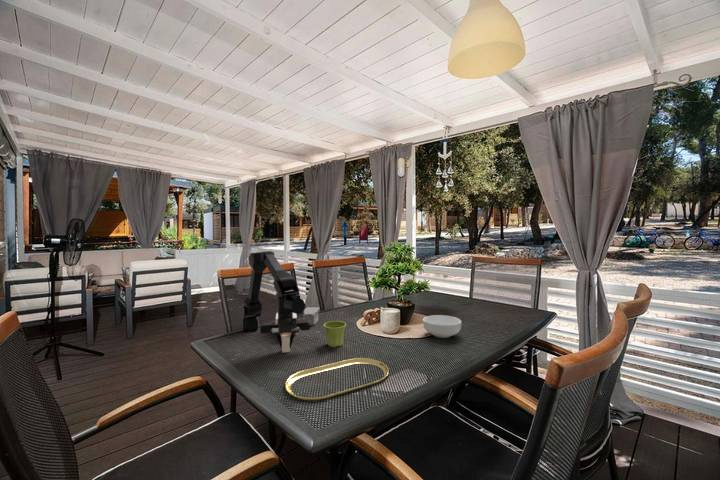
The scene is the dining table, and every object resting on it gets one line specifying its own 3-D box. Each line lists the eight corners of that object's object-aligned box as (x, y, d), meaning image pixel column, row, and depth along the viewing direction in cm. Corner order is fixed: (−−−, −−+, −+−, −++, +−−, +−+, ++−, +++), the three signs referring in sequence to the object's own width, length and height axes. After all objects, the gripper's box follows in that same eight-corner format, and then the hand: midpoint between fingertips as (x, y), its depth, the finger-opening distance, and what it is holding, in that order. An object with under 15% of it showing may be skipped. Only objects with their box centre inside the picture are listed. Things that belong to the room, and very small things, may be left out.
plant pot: (343, 349, 127) (342, 328, 127) (320, 348, 129) (320, 327, 129) (348, 341, 136) (348, 321, 136) (327, 339, 138) (327, 320, 138)
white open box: (275, 336, 143) (275, 318, 143) (276, 329, 153) (276, 312, 152) (297, 334, 145) (296, 317, 145) (296, 327, 155) (296, 311, 154)
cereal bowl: (457, 329, 151) (457, 314, 151) (465, 342, 135) (465, 325, 135) (421, 328, 153) (421, 314, 153) (424, 340, 137) (424, 324, 136)
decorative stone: (317, 318, 172) (299, 319, 169) (317, 305, 172) (299, 306, 169) (323, 326, 159) (303, 327, 155) (324, 312, 158) (304, 313, 155)
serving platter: (277, 381, 102) (277, 376, 102) (369, 358, 120) (369, 354, 120) (297, 410, 86) (296, 404, 86) (400, 378, 103) (400, 374, 103)
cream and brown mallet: (279, 352, 124) (279, 337, 123) (280, 337, 142) (280, 323, 141) (292, 351, 125) (292, 336, 124) (292, 336, 143) (292, 323, 143)
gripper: (258, 315, 115) (259, 357, 116) (310, 312, 119) (310, 353, 120) (261, 307, 126) (262, 346, 126) (308, 305, 130) (309, 342, 130)
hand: (285, 347), depth 125 cm, fingers closed on cream and brown mallet, 3 cm apart
